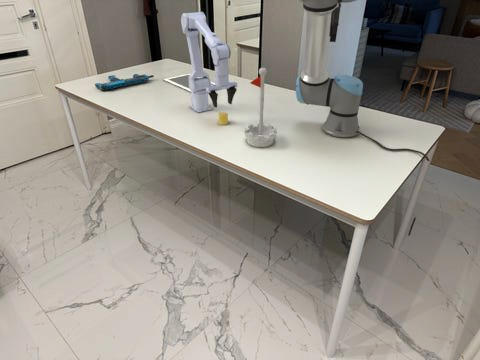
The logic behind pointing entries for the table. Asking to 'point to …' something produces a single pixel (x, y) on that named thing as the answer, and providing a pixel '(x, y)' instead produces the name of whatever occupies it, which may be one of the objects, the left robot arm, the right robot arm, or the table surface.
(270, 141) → the flag stand
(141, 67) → the table surface
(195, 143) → the table surface
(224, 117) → the tin
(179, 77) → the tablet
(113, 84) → the submachine gun
